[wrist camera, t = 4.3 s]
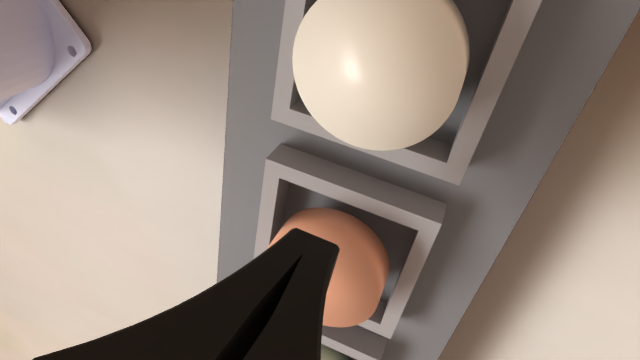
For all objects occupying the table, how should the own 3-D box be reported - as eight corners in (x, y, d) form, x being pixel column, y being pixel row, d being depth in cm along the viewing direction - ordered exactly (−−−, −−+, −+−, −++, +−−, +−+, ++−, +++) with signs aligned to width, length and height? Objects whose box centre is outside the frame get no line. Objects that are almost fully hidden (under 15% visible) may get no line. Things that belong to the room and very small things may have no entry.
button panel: (400, 396, 27) (383, 466, 24) (237, 321, 29) (201, 377, 26) (672, -112, 12) (729, -111, 9) (292, -191, 14) (221, -214, 11)
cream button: (438, 147, 14) (429, 172, 12) (302, 101, 14) (283, 120, 13) (497, -6, 11) (493, 7, 10) (328, -51, 12) (306, -44, 11)
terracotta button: (373, 314, 18) (362, 344, 17) (274, 272, 19) (257, 297, 18) (403, 235, 16) (393, 263, 14) (287, 190, 16) (269, 213, 15)
